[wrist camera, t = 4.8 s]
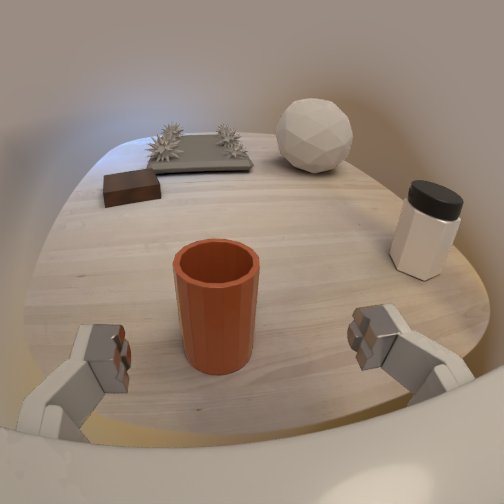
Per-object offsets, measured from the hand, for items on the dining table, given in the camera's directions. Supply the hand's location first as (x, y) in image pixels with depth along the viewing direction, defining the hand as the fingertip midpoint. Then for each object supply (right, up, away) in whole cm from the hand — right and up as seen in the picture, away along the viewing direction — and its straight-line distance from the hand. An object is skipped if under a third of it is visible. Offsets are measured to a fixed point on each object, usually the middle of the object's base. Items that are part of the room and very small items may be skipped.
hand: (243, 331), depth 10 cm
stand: (-24, +15, +49) cm, 57 cm away
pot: (-3, -6, +18) cm, 19 cm away
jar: (+25, +1, +33) cm, 41 cm away
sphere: (+15, +24, +69) cm, 74 cm away
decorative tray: (-15, +29, +74) cm, 81 cm away
